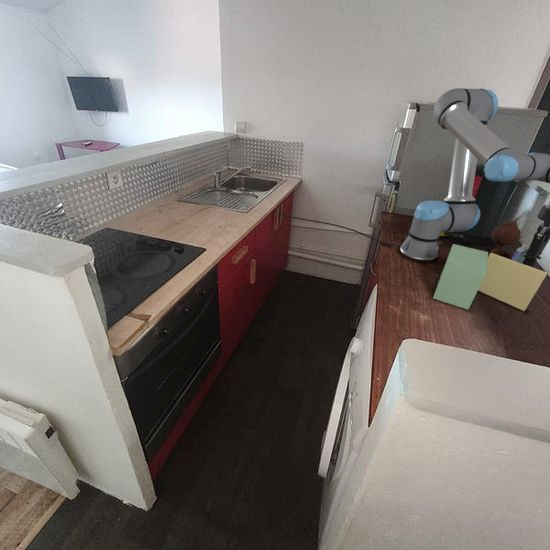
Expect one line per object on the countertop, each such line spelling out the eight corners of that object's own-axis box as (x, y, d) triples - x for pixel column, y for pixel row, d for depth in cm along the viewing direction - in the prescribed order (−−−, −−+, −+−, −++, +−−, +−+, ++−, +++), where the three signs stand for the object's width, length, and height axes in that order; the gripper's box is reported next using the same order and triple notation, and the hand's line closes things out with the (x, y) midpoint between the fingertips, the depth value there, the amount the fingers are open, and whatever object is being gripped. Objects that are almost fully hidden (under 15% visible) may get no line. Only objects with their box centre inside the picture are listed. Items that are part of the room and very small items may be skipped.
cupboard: (471, 287, 109) (488, 252, 101) (468, 309, 98) (486, 271, 90) (439, 278, 114) (453, 243, 106) (432, 298, 103) (447, 261, 95)
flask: (511, 271, 120) (523, 248, 115) (504, 268, 122) (515, 245, 117) (522, 266, 124) (534, 243, 119) (514, 263, 127) (526, 240, 121)
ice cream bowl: (478, 247, 139) (491, 217, 131) (499, 247, 140) (514, 217, 132) (494, 258, 130) (509, 226, 122) (517, 257, 131) (533, 226, 123)
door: (481, 283, 112) (497, 248, 104) (530, 304, 101) (553, 267, 93) (473, 288, 109) (490, 253, 101) (524, 311, 98) (546, 273, 90)
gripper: (568, 215, 82) (528, 285, 94) (580, 207, 89) (542, 274, 101) (536, 208, 87) (502, 275, 100) (550, 201, 94) (517, 265, 106)
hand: (522, 274), depth 100 cm, fingers closed
